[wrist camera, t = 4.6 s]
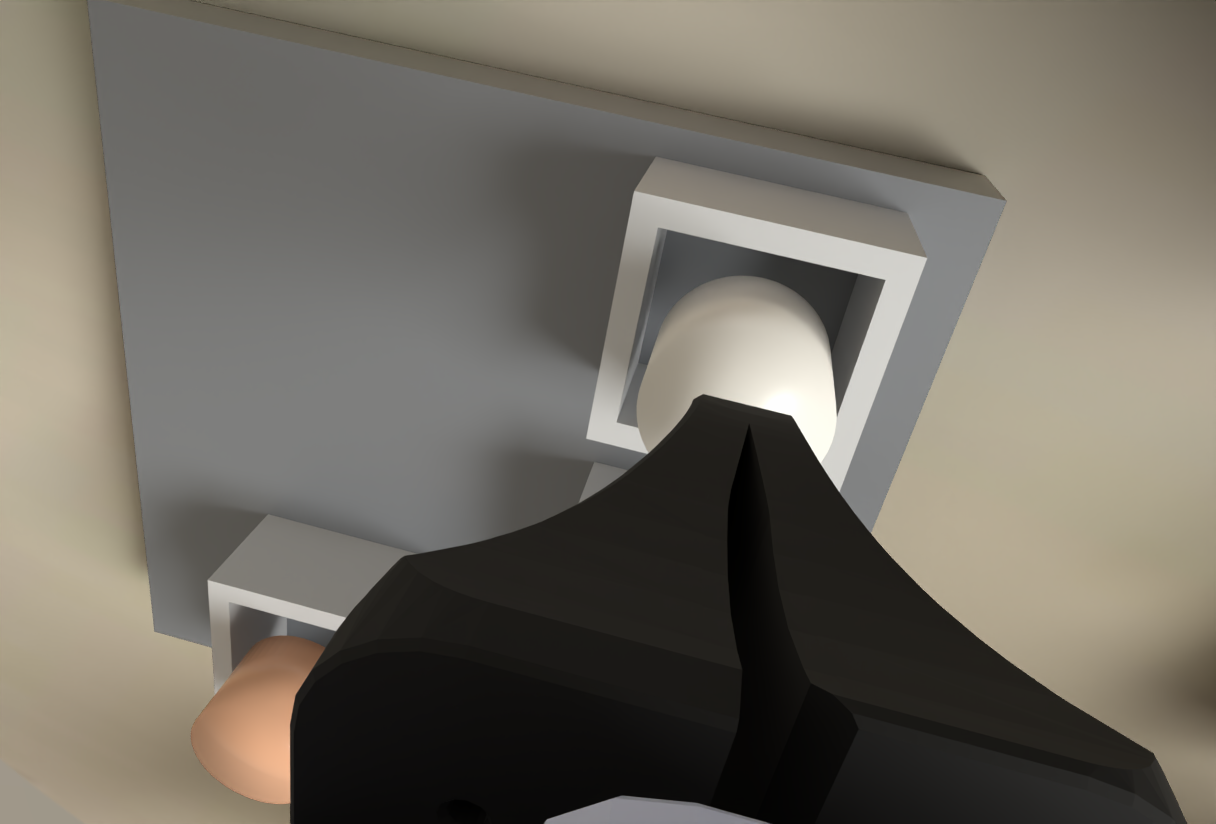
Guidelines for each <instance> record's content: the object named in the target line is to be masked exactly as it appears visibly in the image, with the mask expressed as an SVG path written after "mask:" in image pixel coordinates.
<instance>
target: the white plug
mask: <svg viewBox="0 0 1216 824" xmlns="http://www.w3.org/2000/svg"><path fill="white" fill-rule="evenodd" d="M702 394H705V395H710V396H714V397H718V398H722V399H726V400H730V401H734V402H738V403H742V404H746V405H750V406H755V407H759V408H763V409H767V410H771V411H775V412H779V413H783V414H787V415H791V416H792V417H793V418H794V420H795V422H796V423H797V425H798V427H799V428H800V430H801V432H802V434H803V435H804V437H805V439H806V440H807V442H808V444H809V445H810V447H811V449H812V450H813V452H814V454H815V455H816V457H817V459H818V460H819V462H820V463H821V462H822V460H823V459H824V457H825V456H826V454H827V452H828V450H829V448H830V446H831V443H832V441H833V437H834V433H835V429H836V420H837V415H836V400H835V390H834V380H833V370H832V360H831V350H830V344H829V339H828V335H827V332H826V329H825V327H824V325H823V323H822V321H821V319H820V317H819V316H818V314H817V313H816V311H815V310H814V308H813V307H812V306H811V305H810V304H809V303H808V302H807V301H806V300H805V299H804V298H803V297H801V296H800V295H799V294H798V293H796V292H795V291H793V290H792V289H790V288H788V287H787V286H784V285H782V284H780V283H778V282H775V281H772V280H769V279H765V278H761V277H755V276H729V277H724V278H719V279H715V280H712V281H709V282H707V283H704V284H702V285H700V286H698V287H696V288H695V289H693V290H692V291H690V292H689V293H687V294H686V295H685V296H683V297H682V298H681V299H680V300H679V301H678V302H677V303H676V304H675V305H674V306H673V307H672V309H671V310H670V311H669V313H668V314H667V316H666V317H665V319H664V321H663V323H662V326H661V328H660V330H659V333H658V336H657V339H656V342H655V345H654V348H653V351H652V354H651V357H650V360H649V363H648V366H647V369H646V372H645V375H644V378H643V380H642V383H641V387H640V390H639V393H638V399H637V422H638V428H639V432H640V435H641V439H642V441H643V443H644V445H645V447H646V449H647V451H648V453H649V452H650V451H651V450H653V449H654V448H655V447H656V446H657V445H658V444H659V443H660V442H661V441H662V440H663V439H664V438H665V437H666V436H667V435H668V434H669V433H670V432H671V431H672V429H673V428H674V427H675V426H676V425H677V424H678V422H679V421H680V420H681V419H682V418H683V416H684V415H685V414H686V412H687V411H688V409H689V407H690V406H691V404H692V401H693V399H695V398H697V397H698V396H700V395H702Z"/></svg>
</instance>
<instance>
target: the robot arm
mask: <svg viewBox="0 0 1216 824" xmlns="http://www.w3.org/2000/svg"><path fill="white" fill-rule="evenodd" d="M290 823H291V824H1187V822H1186V820H1185V818H1184V816H1183V813H1182V811H1181V809H1180V807H1179V804H1178V802H1177V800H1176V798H1175V796H1174V794H1173V792H1172V790H1171V787H1170V785H1169V783H1168V781H1167V779H1166V777H1165V775H1164V773H1163V770H1162V769H1161V767H1160V765H1159V763H1158V761H1157V759H1156V757H1155V755H1154V753H1152V752H1150V751H1149V750H1147V749H1145V748H1144V747H1142V746H1140V745H1139V744H1137V743H1135V742H1134V741H1132V740H1130V739H1129V738H1127V737H1125V736H1124V735H1122V734H1120V733H1119V732H1117V731H1115V730H1114V729H1112V728H1110V727H1109V726H1107V725H1105V724H1104V723H1102V722H1100V721H1099V720H1097V719H1095V718H1094V717H1092V716H1090V715H1089V714H1087V713H1085V712H1084V711H1082V710H1080V709H1079V708H1077V707H1075V706H1074V705H1072V704H1070V703H1069V702H1067V701H1065V700H1064V699H1062V698H1061V697H1059V696H1058V695H1056V694H1055V693H1053V692H1052V691H1050V690H1049V689H1047V688H1046V687H1045V686H1043V685H1042V684H1040V683H1039V682H1037V681H1036V680H1035V679H1033V678H1032V677H1030V676H1029V675H1027V674H1026V673H1025V672H1023V671H1022V670H1020V669H1019V668H1017V667H1016V666H1015V665H1013V664H1012V663H1010V662H1009V661H1008V660H1006V659H1005V658H1004V657H1002V656H1001V655H1000V654H998V653H997V652H996V651H994V650H993V649H992V648H991V647H989V646H988V645H987V644H985V643H984V642H983V641H981V640H980V639H979V638H978V637H976V636H975V635H974V634H973V633H972V632H971V631H969V630H968V629H967V628H966V627H965V626H963V625H962V624H961V623H960V622H959V621H958V620H956V619H955V618H954V617H953V616H952V615H950V614H949V613H948V612H947V611H946V610H945V609H943V608H942V607H941V606H940V605H939V604H938V603H937V602H936V601H935V600H933V599H932V598H931V597H930V596H929V595H928V594H927V593H926V592H925V591H924V590H923V589H922V588H921V587H920V586H919V585H918V584H917V583H916V582H915V581H914V580H913V579H912V578H911V577H910V576H909V575H908V574H907V573H906V572H905V571H904V570H903V569H902V568H901V567H900V566H899V565H898V564H897V563H896V562H895V561H894V560H893V559H892V558H891V556H890V555H889V554H888V553H887V552H886V551H885V550H884V549H883V547H882V546H881V545H880V544H879V543H878V542H877V541H876V539H875V538H874V537H873V536H872V534H871V533H870V532H869V531H868V529H867V528H866V527H865V526H864V524H863V523H862V522H861V520H860V519H859V518H858V517H857V515H856V514H855V513H854V512H853V510H852V509H851V508H850V506H849V505H848V503H847V502H846V501H845V499H844V498H843V497H842V495H841V494H840V492H839V491H838V489H837V488H836V486H835V485H834V483H833V482H832V480H831V479H830V477H829V476H828V474H827V473H826V471H825V470H824V468H823V467H822V465H821V463H820V462H819V460H818V459H817V457H816V455H815V454H814V452H813V450H812V449H811V447H810V445H809V444H808V442H807V440H806V439H805V437H804V435H803V434H802V432H801V430H800V428H799V427H798V425H797V423H796V422H795V420H794V418H793V417H792V416H791V415H787V414H783V413H779V412H775V411H771V410H767V409H763V408H759V407H755V406H750V405H746V404H742V403H738V402H734V401H730V400H726V399H722V398H718V397H714V396H710V395H705V394H702V395H700V396H698V397H697V398H695V399H693V401H692V404H691V406H690V407H689V409H688V411H687V412H686V414H685V415H684V416H683V418H682V419H681V420H680V421H679V422H678V424H677V425H676V426H675V427H674V428H673V429H672V431H671V432H670V433H669V434H668V435H667V436H666V437H665V438H664V439H663V440H662V441H661V442H660V443H659V444H658V445H657V446H656V447H655V448H654V449H653V450H651V451H650V452H649V453H648V454H647V455H646V456H645V457H643V458H642V459H641V460H640V461H639V462H637V463H636V464H635V465H634V466H632V467H631V468H630V469H629V470H628V471H626V472H625V473H624V474H623V475H621V476H620V477H619V478H617V479H616V480H614V481H613V482H612V483H610V484H609V485H607V486H606V487H604V488H603V489H601V490H600V491H598V492H597V493H595V494H593V495H592V496H590V497H588V498H587V499H585V500H583V501H582V502H580V503H578V504H576V505H574V506H572V507H570V508H569V509H567V510H565V511H563V512H561V513H559V514H557V515H555V516H552V517H550V518H548V519H546V520H544V521H542V522H539V523H536V524H534V525H531V526H528V527H525V528H522V529H520V530H517V531H514V532H511V533H507V534H504V535H501V536H497V537H494V538H491V539H487V540H483V541H479V542H475V543H471V544H467V545H461V546H456V547H451V548H446V549H441V550H435V551H430V552H425V553H420V554H413V555H405V556H403V557H402V558H400V559H399V560H398V561H397V562H396V563H395V564H394V565H393V566H392V567H391V568H390V569H389V571H388V572H387V573H386V574H385V575H384V576H383V577H382V578H381V579H380V580H379V581H378V582H377V583H376V584H375V585H374V586H373V587H372V589H371V590H370V591H369V592H368V593H367V594H366V596H365V597H364V598H363V599H362V600H361V601H360V602H359V603H358V604H357V605H356V606H355V607H354V609H353V610H352V611H351V612H350V613H349V615H348V616H347V617H346V619H345V620H344V621H343V623H342V624H341V625H340V626H339V628H338V629H337V631H336V632H335V634H334V635H333V637H332V638H331V640H330V641H329V643H328V645H327V646H326V648H325V649H324V651H323V653H322V654H321V656H320V657H319V659H318V660H317V662H316V664H315V665H314V667H313V668H312V670H311V671H310V673H309V675H308V676H307V678H306V679H305V681H304V682H303V684H302V686H301V687H300V689H299V690H298V692H297V693H296V695H295V700H294V705H293V710H292V716H291V721H290Z"/></svg>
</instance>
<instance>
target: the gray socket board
mask: <svg viewBox="0 0 1216 824" xmlns="http://www.w3.org/2000/svg"><path fill="white" fill-rule="evenodd" d="M87 3H88V13H89V22H90V32H91V41H92V50H93V60H94V69H95V78H96V88H97V97H98V107H99V116H100V125H101V135H102V144H103V154H104V163H105V172H106V182H107V191H108V200H109V210H110V219H111V229H112V238H113V247H114V257H115V266H116V275H117V285H118V294H119V304H120V313H121V322H122V332H123V341H124V351H125V360H126V369H127V379H128V388H129V397H130V407H131V416H132V426H133V435H134V444H135V454H136V463H137V473H138V482H139V491H140V501H141V510H142V519H143V529H144V538H145V548H146V557H147V566H148V576H149V585H150V594H151V604H152V613H153V623H154V632H158V633H161V634H165V635H169V636H172V637H176V638H179V639H183V640H187V641H190V642H194V643H197V644H201V645H205V646H208V647H212V657H213V673H214V689H215V694H216V693H217V692H218V690H219V689H220V688H221V686H222V685H223V684H224V683H225V681H226V680H227V679H228V677H229V676H230V675H231V673H232V672H233V671H234V669H235V668H236V667H237V666H238V664H239V663H240V662H241V660H242V659H243V658H244V656H245V655H246V654H247V653H248V651H249V650H250V649H251V647H252V646H253V645H255V644H256V643H257V642H259V641H260V640H263V639H265V638H268V637H272V636H280V635H281V636H295V637H300V638H304V639H307V640H310V641H313V642H315V643H317V644H320V645H321V646H323V647H325V648H326V646H327V645H328V643H329V641H330V640H331V638H332V637H333V635H334V634H335V632H336V631H337V629H338V628H339V626H340V625H341V624H342V623H343V621H344V620H345V619H346V617H347V616H348V615H349V613H350V612H351V611H352V610H353V609H354V607H355V606H356V605H357V604H358V603H359V602H360V601H361V600H362V599H363V598H364V597H365V596H366V594H367V593H368V592H369V591H370V590H371V589H372V587H373V586H374V585H375V584H376V583H377V582H378V581H379V580H380V579H381V578H382V577H383V576H384V575H385V574H386V573H387V572H388V571H389V569H390V568H391V567H392V566H393V565H394V564H395V563H396V562H397V561H398V560H399V559H400V558H402V557H403V556H405V555H413V554H420V553H425V552H430V551H435V550H441V549H446V548H451V547H456V546H461V545H467V544H471V543H475V542H479V541H483V540H487V539H491V538H494V537H497V536H501V535H504V534H507V533H511V532H514V531H517V530H520V529H522V528H525V527H528V526H531V525H534V524H536V523H539V522H542V521H544V520H546V519H548V518H550V517H552V516H555V515H557V514H559V513H561V512H563V511H565V510H567V509H569V508H570V507H572V506H574V505H576V504H578V503H580V502H582V501H583V500H585V499H587V498H588V497H590V496H592V495H593V494H595V493H597V492H598V491H600V490H601V489H603V488H604V487H606V486H607V485H609V484H610V483H612V482H613V481H614V480H616V479H617V478H619V477H620V476H621V475H623V474H624V473H625V472H626V471H628V470H629V469H630V468H631V467H632V466H634V465H635V464H636V463H637V462H639V461H640V460H641V459H642V458H643V457H645V456H646V455H647V454H648V451H647V449H646V447H645V445H644V443H643V441H642V439H641V435H640V432H639V428H638V422H637V399H638V393H639V390H640V387H641V383H642V380H643V378H644V375H645V372H646V369H647V366H648V363H649V360H650V357H651V354H652V351H653V348H654V345H655V342H656V339H657V336H658V333H659V330H660V328H661V326H662V323H663V321H664V319H665V317H666V316H667V314H668V313H669V311H670V310H671V309H672V307H673V306H674V305H675V304H676V303H677V302H678V301H679V300H680V299H681V298H682V297H683V296H685V295H686V294H687V293H689V292H690V291H692V290H693V289H695V288H696V287H698V286H700V285H702V284H704V283H707V282H709V281H712V280H715V279H719V278H724V277H729V276H755V277H761V278H765V279H769V280H772V281H775V282H778V283H780V284H782V285H784V286H787V287H788V288H790V289H792V290H793V291H795V292H796V293H798V294H799V295H800V296H801V297H803V298H804V299H805V300H806V301H807V302H808V303H809V304H810V305H811V306H812V307H813V308H814V310H815V311H816V313H817V314H818V316H819V317H820V319H821V321H822V323H823V325H824V327H825V329H826V332H827V335H828V339H829V344H830V350H831V360H832V370H833V380H834V390H835V400H836V415H837V420H836V429H835V433H834V437H833V441H832V443H831V446H830V448H829V450H828V452H827V454H826V456H825V457H824V459H823V460H822V462H821V465H822V467H823V468H824V470H825V471H826V473H827V474H828V476H829V477H830V479H831V480H832V482H833V483H834V485H835V486H836V488H837V489H838V491H839V492H840V494H841V495H842V497H843V498H844V499H845V501H846V502H847V503H848V505H849V506H850V508H851V509H852V510H853V512H854V513H855V514H856V515H857V517H858V518H859V519H860V520H861V522H862V523H863V524H864V526H865V527H866V528H867V529H868V531H869V532H870V533H871V532H872V529H873V527H874V524H875V522H876V519H877V517H878V515H879V512H880V510H881V507H882V505H883V502H884V500H885V497H886V495H887V493H888V490H889V488H890V485H891V483H892V480H893V478H894V475H895V473H896V471H897V468H898V466H899V463H900V461H901V458H902V456H903V453H904V451H905V449H906V446H907V444H908V441H909V439H910V436H911V434H912V431H913V429H914V426H915V424H916V422H917V419H918V417H919V414H920V412H921V409H922V407H923V404H924V402H925V400H926V397H927V395H928V392H929V390H930V387H931V385H932V382H933V380H934V378H935V375H936V373H937V370H938V368H939V365H940V363H941V360H942V358H943V356H944V353H945V351H946V348H947V346H948V343H949V341H950V338H951V336H952V334H953V331H954V329H955V326H956V324H957V321H958V319H959V316H960V314H961V312H962V309H963V307H964V304H965V302H966V299H967V297H968V294H969V292H970V290H971V287H972V285H973V282H974V280H975V277H976V275H977V272H978V270H979V268H980V265H981V263H982V260H983V258H984V255H985V253H986V250H987V248H988V245H989V243H990V241H991V238H992V236H993V233H994V231H995V228H996V226H997V223H998V221H999V219H1000V216H1001V214H1002V211H1003V209H1004V206H1005V204H1006V199H1005V198H1004V197H1003V196H1002V195H1001V194H1000V192H999V191H998V190H997V189H996V188H995V187H994V185H993V184H992V183H991V182H990V181H989V180H988V178H987V177H986V176H984V175H979V174H975V173H970V172H966V171H961V170H957V169H952V168H947V167H943V166H938V165H934V164H929V163H925V162H920V161H916V160H911V159H907V158H902V157H898V156H893V155H889V154H884V153H879V152H875V151H870V150H866V149H861V148H857V147H852V146H848V145H843V144H839V143H834V142H830V141H825V140H821V139H816V138H811V137H807V136H802V135H798V134H793V133H789V132H784V131H780V130H775V129H771V128H766V127H762V126H757V125H753V124H748V123H743V122H739V121H734V120H730V119H725V118H721V117H716V116H712V115H707V114H703V113H698V112H694V111H689V110H685V109H680V108H675V107H671V106H666V105H662V104H657V103H653V102H648V101H644V100H639V99H635V98H630V97H626V96H621V95H617V94H612V93H607V92H603V91H598V90H594V89H589V88H585V87H580V86H576V85H571V84H567V83H562V82H558V81H553V80H549V79H544V78H539V77H535V76H530V75H526V74H521V73H517V72H512V71H508V70H503V69H499V68H494V67H490V66H485V65H481V64H476V63H471V62H467V61H462V60H458V59H453V58H449V57H444V56H440V55H435V54H431V53H426V52H422V51H417V50H413V49H408V48H403V47H399V46H394V45H390V44H385V43H381V42H376V41H372V40H367V39H363V38H358V37H354V36H349V35H345V34H340V33H336V32H331V31H326V30H322V29H317V28H313V27H308V26H304V25H299V24H295V23H290V22H286V21H281V20H277V19H272V18H268V17H263V16H258V15H254V14H249V13H245V12H240V11H236V10H231V9H227V8H222V7H218V6H213V5H209V4H204V3H200V2H195V1H190V0H87Z"/></svg>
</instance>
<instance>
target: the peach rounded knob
mask: <svg viewBox="0 0 1216 824" xmlns="http://www.w3.org/2000/svg"><path fill="white" fill-rule="evenodd" d="M324 649H325V647H323V646H321V645H320V644H317V643H315V642H313V641H310V640H307V639H304V638H300V637H295V636H281V635H280V636H272V637H268V638H265V639H263V640H260V641H259V642H257V643H256V644H255V645H253V646H252V647H251V649H250V650H249V651H248V653H247V654H246V655H245V656H244V658H243V659H242V660H241V662H240V663H239V664H238V666H237V667H236V668H235V669H234V671H233V672H232V673H231V675H230V676H229V677H228V679H227V680H226V681H225V683H224V684H223V685H222V686H221V688H220V689H219V690H218V692H217V693H216V694H215V696H214V697H213V698H212V699H211V701H210V702H209V703H208V705H207V706H206V707H205V709H204V710H203V711H202V712H201V714H200V715H199V716H198V718H197V719H196V720H195V722H194V724H193V726H192V730H191V742H192V746H193V749H194V752H195V754H196V756H197V758H198V759H199V761H200V762H201V764H202V765H203V766H204V767H205V769H206V770H207V771H208V772H209V773H210V774H211V775H212V776H213V777H214V778H216V779H217V780H218V781H219V782H221V783H222V784H223V785H225V786H226V787H228V788H229V789H231V790H233V791H235V792H237V793H239V794H241V795H243V796H245V797H248V798H251V799H254V800H257V801H261V802H265V803H272V804H288V803H290V721H291V716H292V710H293V705H294V700H295V695H296V693H297V692H298V690H299V689H300V687H301V686H302V684H303V682H304V681H305V679H306V678H307V676H308V675H309V673H310V671H311V670H312V668H313V667H314V665H315V664H316V662H317V660H318V659H319V657H320V656H321V654H322V653H323V651H324Z"/></svg>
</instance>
